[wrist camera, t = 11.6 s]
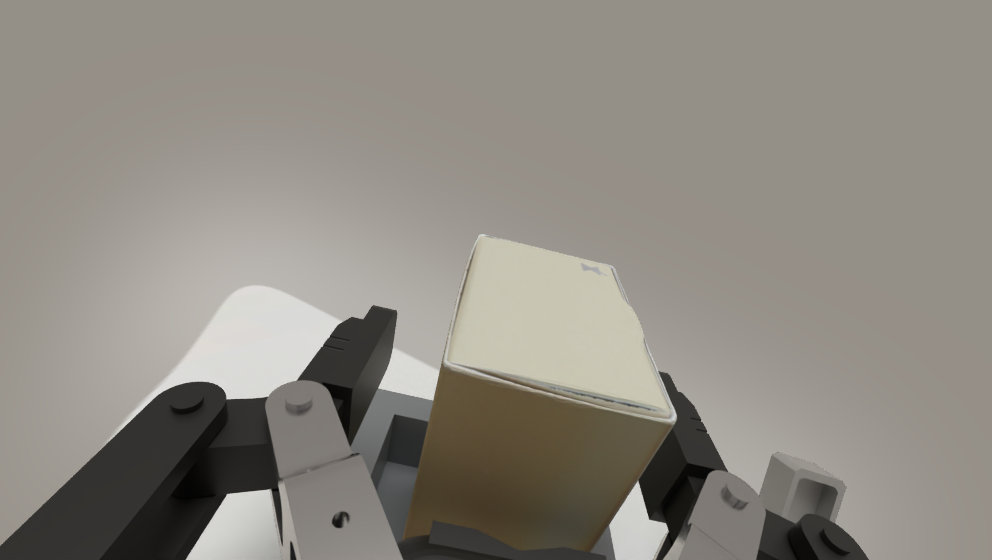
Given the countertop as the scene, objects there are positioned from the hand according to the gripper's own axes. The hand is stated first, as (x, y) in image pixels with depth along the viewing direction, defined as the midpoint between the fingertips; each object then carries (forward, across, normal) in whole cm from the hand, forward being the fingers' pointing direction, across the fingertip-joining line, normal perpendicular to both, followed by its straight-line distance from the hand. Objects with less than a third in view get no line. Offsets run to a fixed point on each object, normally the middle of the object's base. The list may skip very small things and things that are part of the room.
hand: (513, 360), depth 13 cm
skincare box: (-2, 0, +9) cm, 9 cm away
